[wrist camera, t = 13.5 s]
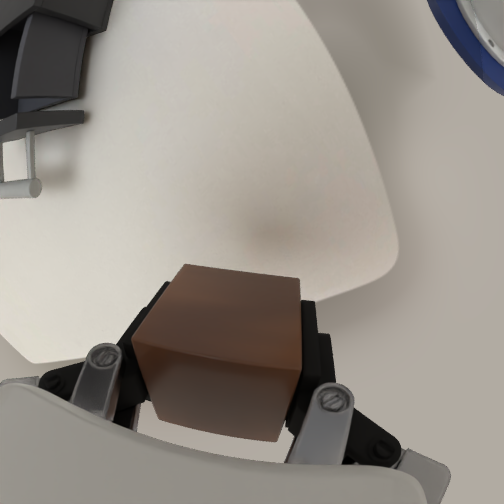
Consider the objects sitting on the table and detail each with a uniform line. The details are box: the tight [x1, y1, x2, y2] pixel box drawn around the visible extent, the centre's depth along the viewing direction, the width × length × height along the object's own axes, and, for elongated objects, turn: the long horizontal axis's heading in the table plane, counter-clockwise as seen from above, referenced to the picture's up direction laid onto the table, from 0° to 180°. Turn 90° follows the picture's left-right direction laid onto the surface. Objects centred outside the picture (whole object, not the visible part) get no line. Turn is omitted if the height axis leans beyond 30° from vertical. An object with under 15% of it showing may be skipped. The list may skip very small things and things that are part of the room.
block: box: [131, 264, 302, 442], centre depth 9 cm, size 5×5×5 cm
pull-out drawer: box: [0, 11, 88, 199], centre depth 13 cm, size 19×11×8 cm, turn 176°
